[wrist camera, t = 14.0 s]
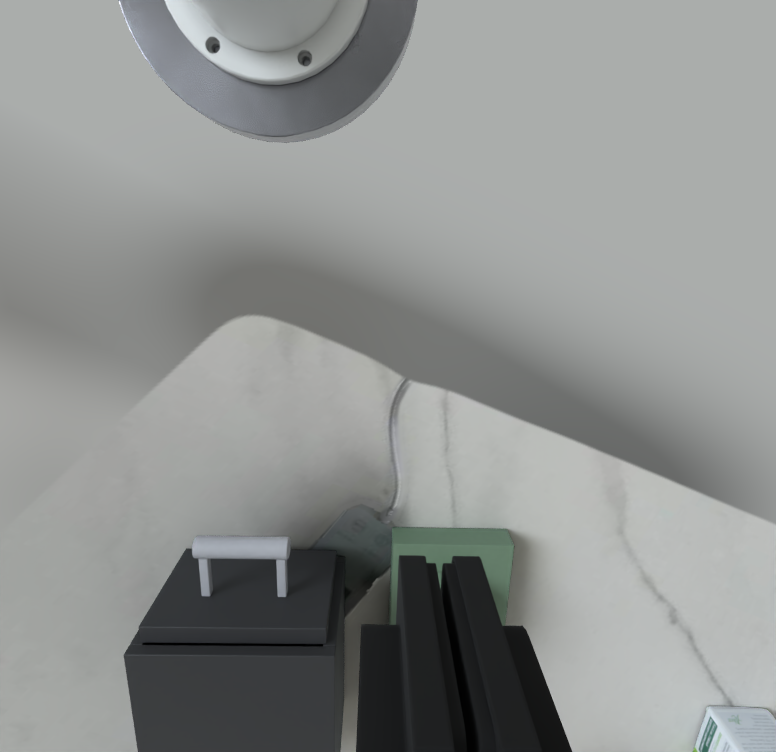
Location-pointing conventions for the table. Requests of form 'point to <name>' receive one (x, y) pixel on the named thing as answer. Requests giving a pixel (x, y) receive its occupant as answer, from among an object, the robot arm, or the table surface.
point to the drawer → (244, 595)
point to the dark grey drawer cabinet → (240, 693)
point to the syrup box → (737, 730)
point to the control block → (456, 542)
